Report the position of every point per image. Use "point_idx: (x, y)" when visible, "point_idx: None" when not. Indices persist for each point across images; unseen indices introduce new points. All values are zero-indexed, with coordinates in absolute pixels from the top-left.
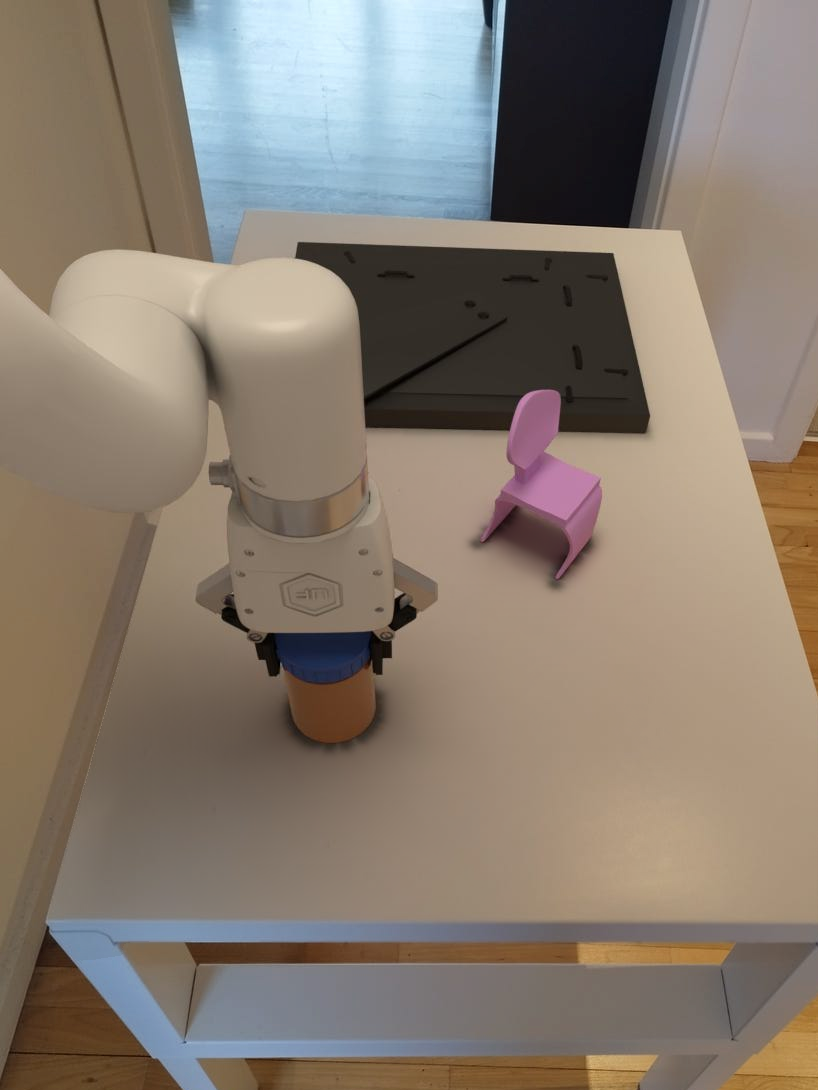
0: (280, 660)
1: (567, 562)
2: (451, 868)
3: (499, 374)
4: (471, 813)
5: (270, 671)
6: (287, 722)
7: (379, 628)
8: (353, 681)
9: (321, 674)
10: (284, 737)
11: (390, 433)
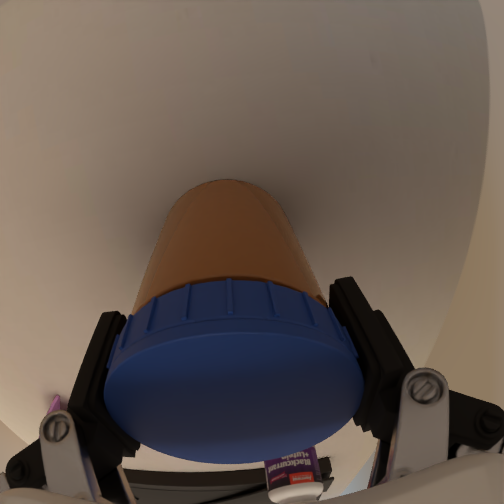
0: (340, 325)
1: (48, 411)
2: (23, 37)
3: (174, 495)
4: (10, 118)
5: (353, 289)
6: (292, 207)
7: (5, 497)
8: (142, 294)
9: (205, 313)
10: (293, 181)
11: (240, 468)
